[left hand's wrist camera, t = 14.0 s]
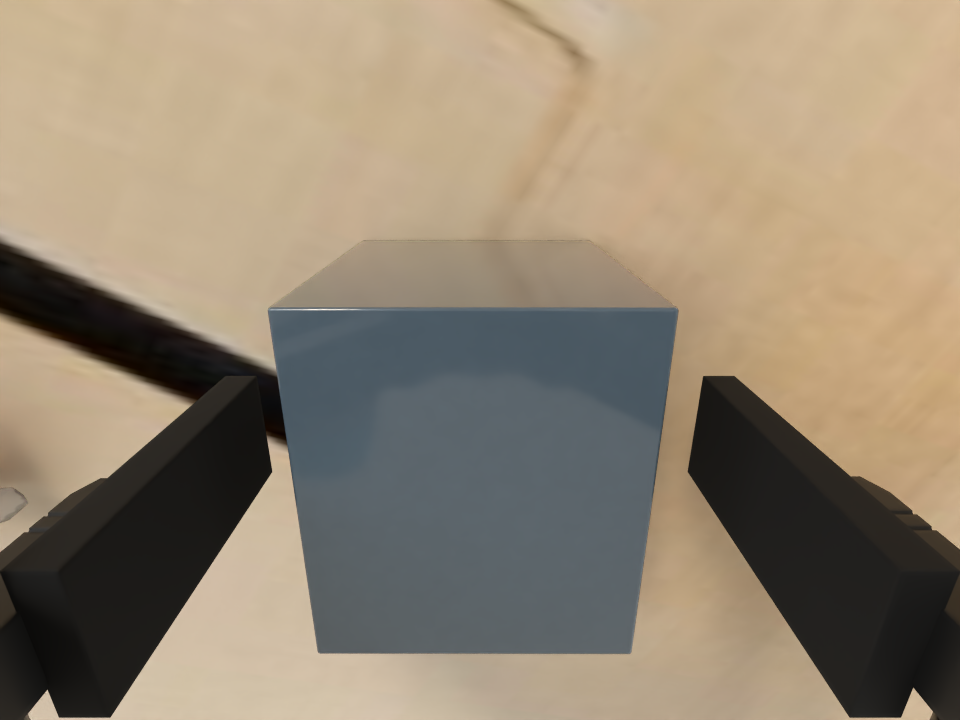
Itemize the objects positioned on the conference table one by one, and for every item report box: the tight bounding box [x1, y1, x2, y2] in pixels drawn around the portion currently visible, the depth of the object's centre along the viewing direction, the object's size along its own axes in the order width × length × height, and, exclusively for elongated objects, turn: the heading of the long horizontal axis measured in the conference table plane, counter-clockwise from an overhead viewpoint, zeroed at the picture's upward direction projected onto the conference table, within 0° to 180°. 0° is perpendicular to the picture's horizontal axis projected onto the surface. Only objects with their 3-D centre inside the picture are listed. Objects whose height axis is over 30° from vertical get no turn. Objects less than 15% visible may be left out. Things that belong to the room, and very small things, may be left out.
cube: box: [268, 240, 678, 654], centre depth 14 cm, size 7×8×8 cm
